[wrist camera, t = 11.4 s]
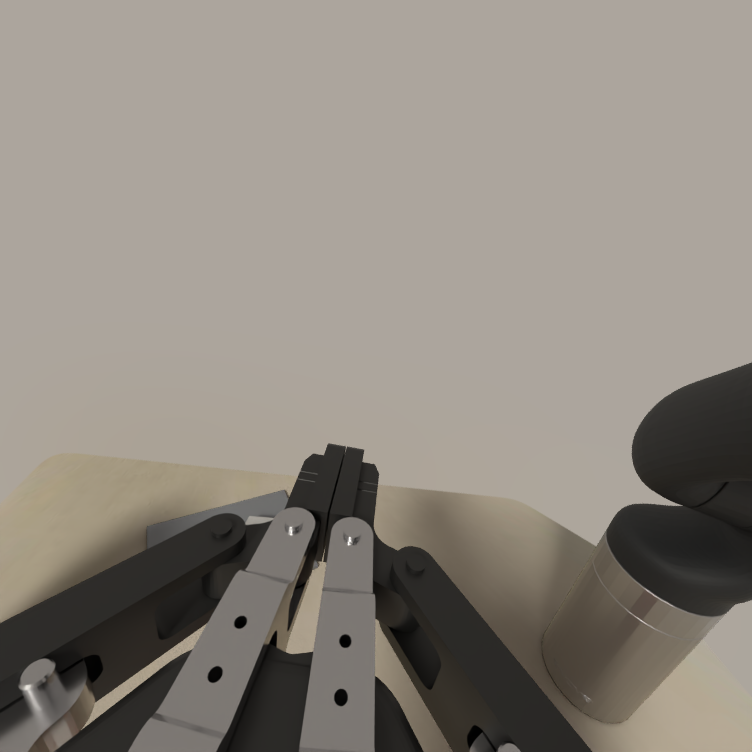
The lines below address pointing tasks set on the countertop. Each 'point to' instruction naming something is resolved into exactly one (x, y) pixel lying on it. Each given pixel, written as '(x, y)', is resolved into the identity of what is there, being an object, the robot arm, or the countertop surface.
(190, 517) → the mat
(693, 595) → the robot arm
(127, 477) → the countertop surface
